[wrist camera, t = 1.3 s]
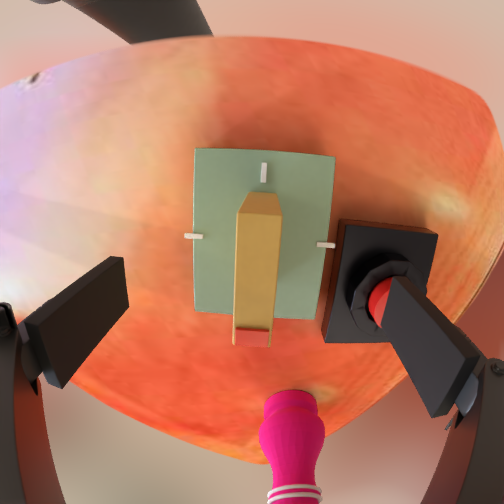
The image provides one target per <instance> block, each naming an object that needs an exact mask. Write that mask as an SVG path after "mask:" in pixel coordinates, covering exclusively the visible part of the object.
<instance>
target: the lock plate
mask: <svg viewBox="0 0 504 504" xmlns="http://www.w3.org/2000/svg"><path fill="white" fill-rule="evenodd" d="M335 160H336V158H335V157H333V156H325V155H316V154H307V153H297V152H285V151H272V150H255V149H232V148H195V157H194V190H193V233H185V238H192V239H193V268H194V302H195V311H200V312H210V313H221V314H232V315H233V306H234V275H235V247H236V222H237V212H238V211H239V209H240V207H241V205H242V203H243V202H244V200H245V198H246V196H247V194H248V193H249V192H264V193H276V194H277V197H278V200H279V204H280V208H281V211H282V215H283V222H282V234H281V246H280V257H279V268H278V278H277V289H276V299H275V309H274V318H292V319H315V316H316V310H317V304H318V298H319V292H320V286H321V280H322V274H323V267H324V260H325V253H326V248H335V243H328V242H327V238H328V230H329V222H330V213H331V204H332V194H333V184H334V172H335Z"/></svg>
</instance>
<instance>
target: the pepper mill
mask: <svg viewBox="0 0 504 504" xmlns="http://www.w3.org/2000/svg"><path fill="white" fill-rule="evenodd" d="M317 414H318V410H317V404H316V400H315V399H314V397H313V396H312V395H310V394H309V393H306V392H304V391H299V390H287V391H282V392H279V393H276V394H274V395H273V396H271V397H270V398H269V399H268V400H267V401H266V403H265V405H264V419H265V421H264V422H263V423H262V424H261V426H260V429H259V442H260V445H261V448H262V450H263V452H264V454H265V456H266V458H267V459H268V461H269V463H270V465H271V468H272V471H273V488H272V490H271V491H269V493H268V495H267V496H268V498H269V499H268V502H267V504H319V503H320V502H321V501H322V497H321V492H322V491H321V489H320V488H319V487H317V486H316V484H315V475H314V470H315V465H316V461H317V458H318V456H319V453H320V451H321V449H322V447H323V443H324V438H325V427H324V424H323V421H322V420H321V419H320V418H319V417H318V416H317Z"/></svg>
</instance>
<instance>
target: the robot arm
mask: <svg viewBox="0 0 504 504" xmlns="http://www.w3.org/2000/svg"><path fill="white" fill-rule="evenodd" d="M128 308H129V301H128V294H127V286H126V278H125V269H124V259H123V257H114V256H110V257H109V258H107V259H106V260H104V261H103V262H101V263H100V264H99V265H97V266H96V267H94V268H93V269H92V270H90V271H89V272H87V273H86V274H84V275H83V276H82V277H80V278H79V279H78V280H76V281H75V282H73V283H72V284H71V285H69V286H68V287H67V288H65V289H64V290H63V291H61V292H60V293H59V294H57V295H56V296H55V297H54V298H52V299H50V300H48V301H47V302H45V303H44V304H43V305H42V307H39V308H38V309H36V311H34V312H33V313H31V314H30V315H29V316H28V317H26V318H25V319H24V320H23V321H22V322H20V323H19V324H18V325H17V323H16V320H15V317H14V314H13V310H12V307H11V305H10V304H9V303H5V302H2V303H0V504H66V503H65V500H64V497H63V494H62V491H61V487H60V484H59V481H58V477H57V474H56V470H55V466H54V462H53V458H52V454H51V449H50V445H49V439H48V434H47V429H46V422H45V416H44V408H43V400H42V391H41V383H40V380H39V378H38V376H39V375H40V374H41V373H42V371H43V374H44V376H45V378H46V380H47V382H48V383H49V384H51V385H53V386H56V387H58V388H61V389H63V388H64V386H65V385H66V384H67V382H68V381H69V380H70V378H71V377H72V376H73V375H74V373H75V372H76V371H77V369H78V368H79V367H80V366H81V364H82V363H83V362H84V361H85V359H86V358H87V357H88V356H89V354H90V353H91V352H92V351H93V349H94V348H95V347H96V346H97V345H98V343H99V342H100V341H101V340H102V338H103V337H104V336H105V335H106V334H107V332H108V331H109V330H110V329H111V328H112V326H113V325H114V324H115V323H116V322H117V321H118V319H119V318H120V317H121V316H122V315H123V314H124V312H125V311H126V310H127V309H128ZM380 326H381V327H382V329H383V331H384V332H385V334H386V336H387V337H388V339H389V341H390V342H391V344H392V346H393V348H394V349H395V351H396V353H397V355H398V356H399V358H400V360H401V362H402V363H403V365H404V367H405V369H406V371H407V372H408V374H409V376H410V378H411V380H412V382H413V383H414V385H415V387H416V389H417V391H418V393H419V395H420V397H421V398H422V400H423V402H424V404H425V406H426V408H427V410H428V412H429V414H430V416H431V418H435V417H439V416H443V415H447V414H448V412H449V411H450V409H451V408H452V406H453V404H454V403H455V404H456V406H457V407H458V410H457V412H456V413H455V415H454V416H453V418H452V419H451V421H450V422H449V423H448V425H447V426H446V428H445V430H447V429H448V428H449V427H450V426H451V428H450V431H449V434H448V438H447V441H446V444H445V446H444V450H443V452H442V455H441V458H440V460H439V463H438V466H437V468H436V471H435V473H434V475H433V478H432V480H431V482H430V485H429V487H428V489H427V491H426V494H425V496H424V498H423V500H422V502H421V504H504V361H502V360H500V359H495V358H490V359H487V358H486V357H485V356H484V355H483V353H482V352H481V351H480V350H479V349H478V348H477V346H476V345H475V344H474V343H473V342H471V340H470V339H469V338H468V337H466V334H465V333H464V332H463V331H462V330H461V329H460V328H459V327H457V326H455V325H454V324H452V323H451V322H450V321H449V319H448V318H447V317H446V316H445V315H444V314H443V313H442V312H441V311H440V310H439V309H438V308H437V307H436V306H435V305H434V304H433V303H432V302H431V301H430V300H429V299H428V298H427V297H426V296H425V295H424V294H423V293H422V292H421V291H420V290H419V289H418V288H417V287H416V286H415V285H414V284H413V283H412V282H411V281H410V280H409V279H408V278H407V277H401V276H393V278H392V282H391V286H390V290H389V294H388V298H387V302H386V306H385V309H384V313H383V317H382V320H381V324H380Z"/></svg>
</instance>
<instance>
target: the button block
mask: <svg viewBox="0 0 504 504" xmlns="http://www.w3.org/2000/svg"><path fill="white" fill-rule="evenodd" d="M437 239H438V234H436V233H434V232H432V231H430V230H429V229H427V228H419V227H411V226H403V225H394V224H386V223H377V222H367V221H358V220H348V219H339V226H338V234H337V241H336V248H335V255H334V261H333V268H332V274H331V280H330V286H329V292H328V297H327V303H326V308H325V313H324V318H323V323H322V328H321V331H322V335H323V339H324V342H325V343H381V342H390V341H389V339H388V337H387V336H386V334H385V332H384V331H383V329H382V328H380V327H379V326H378V325H377V323H376V322H375V320H374V318H373V317H372V315H371V313H370V311H369V309H368V298H369V295H370V293H371V291H372V290H373V288H374V287H375V286H376V285H377V284H378V283H379V282H380V281H382V280H384V279H386V278H389V277H393V276H401V277H407V278H408V279H409V280H410V281H411V282H412V283H413V284H414V285H415V286H416V287H417V288H418V289H419V290H420V291H421V292H422V293H423V294H424V295H425V296H426V294H427V288H426V285H427V282H428V278H429V274H430V270H431V266H432V262H433V258H434V253H435V249H436V244H437Z"/></svg>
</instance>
